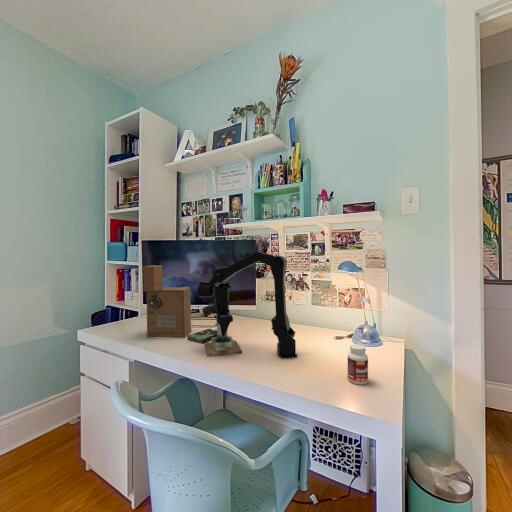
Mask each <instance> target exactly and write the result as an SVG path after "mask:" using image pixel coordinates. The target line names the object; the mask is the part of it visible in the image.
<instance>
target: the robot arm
mask: <svg viewBox="0 0 512 512" xmlns="http://www.w3.org/2000/svg"><path fill="white" fill-rule="evenodd" d="M258 262H260V263H261V264H264V265H267V266H269V267H270V270H271V274H272V277H273V285H274V303H275V304H274V305H275V315H274V316H273V317H272V318H271V331H273V335H275V336H276V338H277V343H276V353H277V355H278V356H279V357H280V358H281V359H287V358H288V359H289V358H290V359H291V358H298V354H297V352H296V351H297V350H296V347H297V346H296V341H297V340H296V338H294V337H295V336H296V331H295V330H294V329H293V328H292V327H291V325H290V318H289V316H288V314H287V306H286V305H287V304H286V286H285V285H286V283H285V281H286V279H285V278H286V277H285V276H286V272H287V267H288V266H287V265H288V261H287V258H286V257H285V256H283V255H273V254H269V253H266V252H264V251H260V250H259V251H258V250H257V251H254V253H252V254H249V255H248V256H246V257H245V258H242V259H240V260H238V261H236V262H234V263H232V264H230V265H226V266H223V267H220V268H216V269H214V271H213V274H212V277H211V278H210V280H209V281H204V280H203V281H202V280H201V281H199V285H198V286H197V290H196V293H197V296H198V297H199V298H213V297H214V298H215V299H214V300H213V303H210V304H209V305H206V306H203V307H202V308H201V311H202V313H203V316H204V318H206V317H209V316H210V315H214V316H213V317H214V318H215V320H216V321H215V322H216V324H217V323H219V324H220V328H221V333H222V336H225V334H226V331H227V329H229V326H230V324H231V323H233V322H234V317H233V316H232V314H231V311H230V298H229V297H230V293H229V291H230V290H229V289H230V288H233V287H234V285H233V283H231V282H230V280H229V279H231V278H233V277H234V276H235V275H236V274H237V273H239V272H242V271H243V270H244V269H247V268H248V267H251V266H253V265H255V264H257V263H258ZM228 280H229V281H228ZM225 282H226V283H225Z"/></svg>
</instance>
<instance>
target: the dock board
mask: <svg viewBox="0 0 512 512" xmlns="http://www.w3.org/2000/svg"><path fill="white" fill-rule="evenodd" d="M204 348H205V352H206V356H207V357H208V356H209V357H217V356H218V357H219V356H226V355H239V354H242V353H243V350H242V349H241V347H240V345H239V344H238V342H237V340H236V339H235V340H234V338H233V337H232V336H231V335H228V342H219V343H217V337H213V338H211V341H210V342H207V343H204ZM209 357H208V358H209Z"/></svg>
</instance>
